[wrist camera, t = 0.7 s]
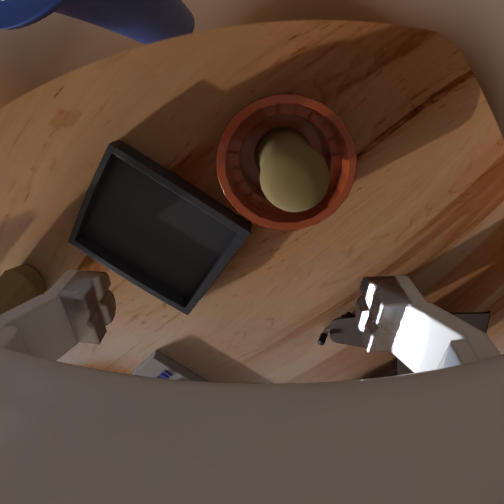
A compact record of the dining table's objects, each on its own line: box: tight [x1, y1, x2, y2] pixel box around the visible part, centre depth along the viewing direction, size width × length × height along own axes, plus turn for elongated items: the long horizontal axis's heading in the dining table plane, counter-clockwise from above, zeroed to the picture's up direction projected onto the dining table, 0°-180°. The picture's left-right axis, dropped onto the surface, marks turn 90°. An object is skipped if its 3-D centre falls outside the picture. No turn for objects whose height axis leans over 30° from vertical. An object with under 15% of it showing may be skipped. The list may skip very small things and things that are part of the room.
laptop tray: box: [318, 311, 491, 375], centre depth 41 cm, size 23×23×9 cm
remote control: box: [132, 350, 208, 382], centre depth 48 cm, size 8×23×2 cm, turn 47°
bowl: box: [216, 94, 357, 230], centre depth 29 cm, size 13×13×5 cm
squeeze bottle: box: [0, 265, 45, 315], centre depth 31 cm, size 8×8×18 cm
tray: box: [69, 140, 251, 315], centre depth 34 cm, size 18×14×3 cm
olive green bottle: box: [254, 127, 330, 212], centre depth 26 cm, size 6×6×11 cm
